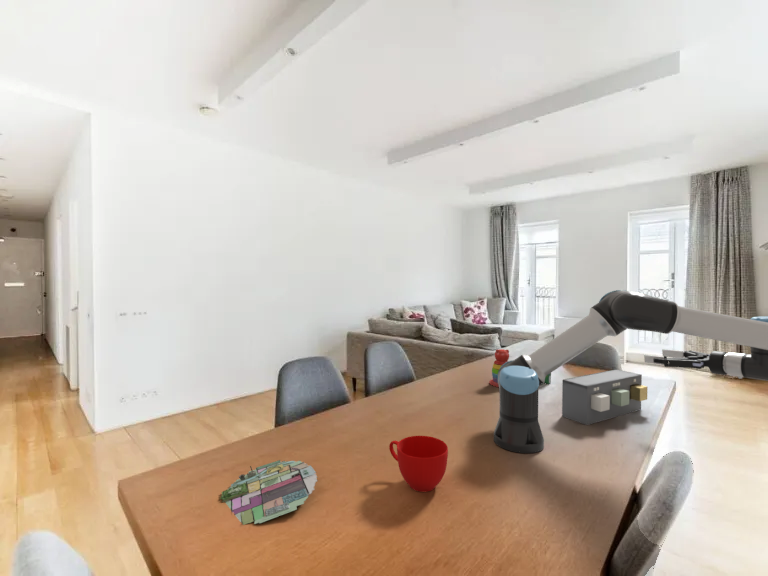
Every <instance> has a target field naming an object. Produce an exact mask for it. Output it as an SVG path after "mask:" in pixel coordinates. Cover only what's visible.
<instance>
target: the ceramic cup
mask: <svg viewBox="0 0 768 576" xmlns="http://www.w3.org/2000/svg"><path fill="white" fill-rule="evenodd" d="M394 445H396V452H395V449H394ZM388 446H389V448H388V449H389V453H390V454H391V456H392V457H393V459H394V460H395V461H396V462H397V465H398V468H399V472H400V473H401V476H402V478H403V479H404V481H405V482H406V483H407V485H408V486H409V487H410V488H411V490H413V491H416V492H420V493H421V492H422V493H426V492H427V493H428V492H430V491H433V490H434V489H435V488H436V487H437V486H438V485H439V484H440V483H441V481H442V480H443V477H444V476H445V473H446V471H447V465H448V455H449V448H448V445H447V444H446V443H445V442H444V441H443V440H441V439H439V438H437V437H433V436H427V435H412V436H407V437H404V438H402V439H400V440H399V441H398V440H392V441H391V442H390V443H389V445H388Z"/></svg>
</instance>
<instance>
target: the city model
mask: <svg viewBox="0 0 768 576" xmlns="http://www.w3.org/2000/svg"><path fill="white" fill-rule="evenodd" d="M249 468H250V470H249V471H248V472H247V474H240V475H238V479H236V480H235V481H234V482H233V483H231V485H230V486H229V488H227V489H225V490H223V491H221V496H220V498H219V499H220V500H222V501H221V502H222V503H225V504H226V506H227V507H228V508H229V510H230V511H231V513H232V514H233V515H234V516H235V517H236V518H237V520H238V522H240V523H241V524H242V525H243V526H244V525H247V524H251V523H253V522H254V523H253V524H254V525H256V524H262V523H265V522H267V521H270V520H273V519H275V518H278V517H279V516H283V515H286V514H288V513H291V512H294V511H296V510H298V508H297V507H298V506H301V505H304V504H305V502H306V501H307V499H308V498H309V495H311V494H313V491H315V490H316V489H315V486H316V482H318V479H317V478H318V477H319V476H317V472H316V471H315V469H314V467H312V465H308V463H305V461H301V460H297V461H295V460H290V461H289V460H286V461H285V460H282V461H281V459H279V460H276V461H273V462H269V463H266V464H263V465H259V466H257V467H255V469H253V467H252V465H250V466H249Z"/></svg>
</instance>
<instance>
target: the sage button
mask: <svg viewBox="0 0 768 576" xmlns="http://www.w3.org/2000/svg"><path fill="white" fill-rule="evenodd" d="M611 404H615V405H618V406H624V405H628V404H629V391H628V390H624V389H620V388H616V389H612V390H611Z"/></svg>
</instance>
